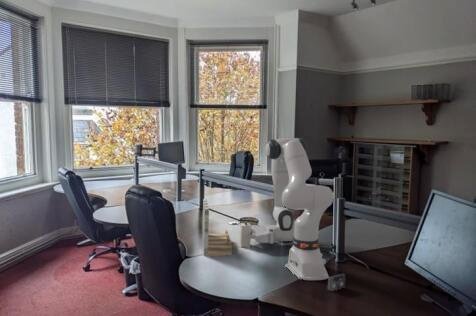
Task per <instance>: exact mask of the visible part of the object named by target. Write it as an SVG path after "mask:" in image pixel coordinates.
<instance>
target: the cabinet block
mask: <svg viewBox="0 0 476 316" xmlns="http://www.w3.org/2000/svg"><path fill="white" fill-rule="evenodd" d="M239 225H240V227H239V228H240V229H239V245H240V248H251V238H246V234H250V235H251V225H250V223H247V222H246V221H244V223H240V222H239Z"/></svg>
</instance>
